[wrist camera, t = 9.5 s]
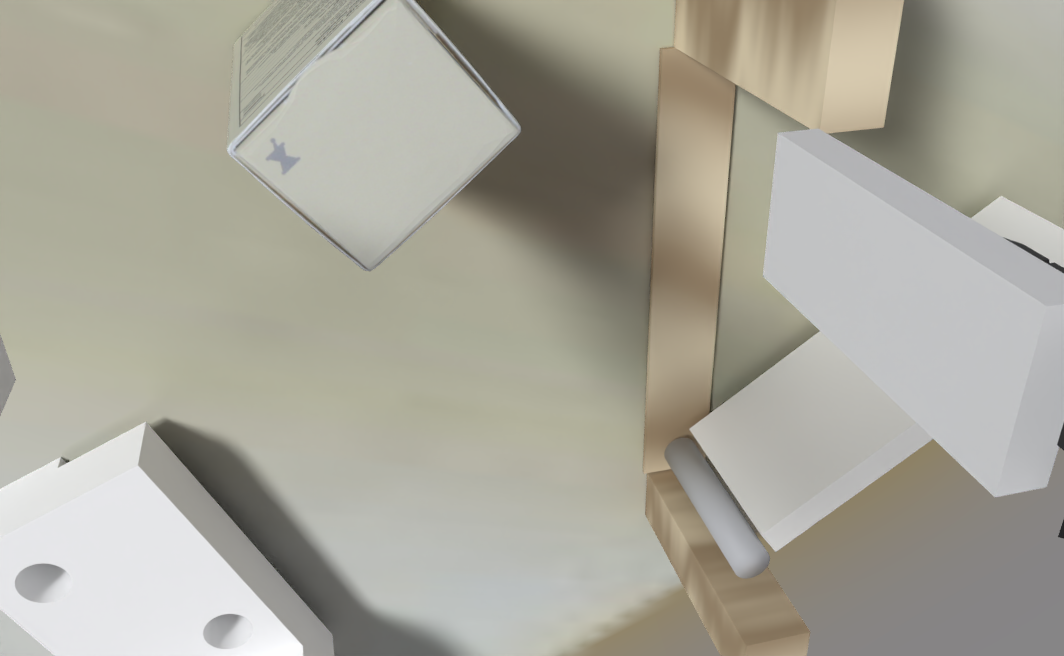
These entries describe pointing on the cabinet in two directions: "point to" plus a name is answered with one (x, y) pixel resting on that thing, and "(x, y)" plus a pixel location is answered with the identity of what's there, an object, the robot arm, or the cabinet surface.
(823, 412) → the door
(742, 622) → the door frame
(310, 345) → the cabinet surface
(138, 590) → the bracket
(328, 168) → the box
